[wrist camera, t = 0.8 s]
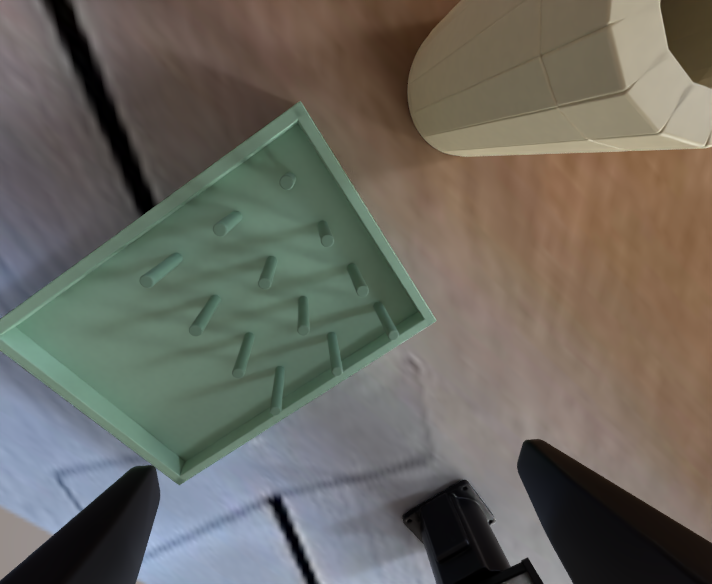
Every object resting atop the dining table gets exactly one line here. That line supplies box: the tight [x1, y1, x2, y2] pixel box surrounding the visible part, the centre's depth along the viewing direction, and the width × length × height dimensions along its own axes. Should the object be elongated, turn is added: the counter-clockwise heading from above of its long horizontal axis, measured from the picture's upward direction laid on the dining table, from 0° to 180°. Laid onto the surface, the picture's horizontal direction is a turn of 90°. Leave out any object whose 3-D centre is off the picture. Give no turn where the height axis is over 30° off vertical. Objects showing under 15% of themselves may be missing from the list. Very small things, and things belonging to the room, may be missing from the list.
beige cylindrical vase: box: [407, 0, 712, 157], centre depth 12 cm, size 7×7×13 cm
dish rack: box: [0, 101, 436, 485], centre depth 19 cm, size 14×20×5 cm
